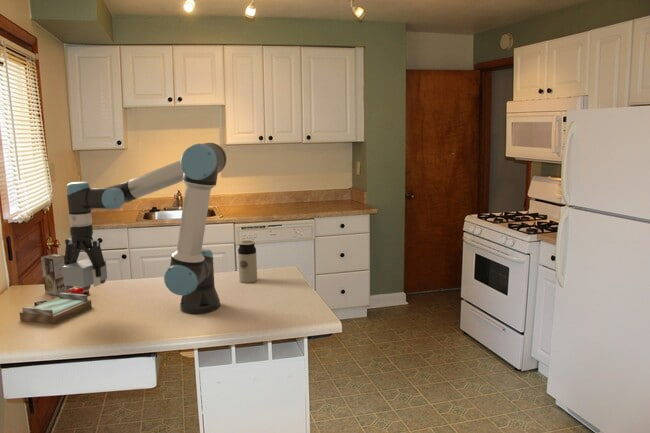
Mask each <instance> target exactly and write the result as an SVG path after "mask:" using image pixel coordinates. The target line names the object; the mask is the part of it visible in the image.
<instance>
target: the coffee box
mask: <svg viewBox="0 0 650 433" xmlns="http://www.w3.org/2000/svg"><path fill="white" fill-rule="evenodd" d="M40 259H41V261H40V262H41V269H42V277H43V284H44V293H45V294H48V295H53V296H59V293H66V292H68V291H69V290H70V289H71V288H67V287H66V285H64V278H63V268H62V267H63V266H66V265H65V264H64V260H65V254H64V255H63V254H57V253H51V254H48V255H44V256H40Z"/></svg>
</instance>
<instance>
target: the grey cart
mask: <svg viewBox="0 0 650 433" xmlns="http://www.w3.org/2000/svg"><path fill="white" fill-rule="evenodd" d="M104 262H105V266H103V267H101V277H100V284H102V285H103V284H105V283H106V280H107V279H108V272H107V260H105V259H104ZM62 268H63V278H64V285H66V287H67V288H70V289H73V288H76V287H82V288H83V289H84V290H89V291H90V288H91V286H92V285H94V283H93V271H92V269H93V268H94V267H93V265H92V263H91V261H90V259H89V258H84V259H81V260H79V261H78V260H77V262H75V263H72V264H69V265H66V266H63V267H62Z"/></svg>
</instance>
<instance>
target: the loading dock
mask: <svg viewBox="0 0 650 433" xmlns="http://www.w3.org/2000/svg"><path fill="white" fill-rule="evenodd" d="M91 308H93V306H92V299H88V294H87V295H81V294H71V293H59V295H58V296H57V297H55V298H53V299H49V300H47V301H44V302H42V303H39V304H36V305H35V306H32V307H31V306H23V307H22V310H21V311H19V312H18V313H19V320H20V321H25V322H33V323H41V324H49V325H56V324H58V323H61V322H63V321H65V320H67V319H70V318H72V317H74V316H76V315H78V314H81V313H82V312H85V311H87V310H90V309H91Z"/></svg>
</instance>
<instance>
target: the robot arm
mask: <svg viewBox="0 0 650 433" xmlns="http://www.w3.org/2000/svg"><path fill="white" fill-rule="evenodd" d="M226 164H227V153H226V151H225V150H224V149H223V148H222V146H220V145H219V144H217V143H214V142H204V143H196V144H192V145H191V146H189V147H187V148H186V149H185V150H184V151H183V153H182V155H181V158H180V160H177V161H174V162H173V163H169V164H167V165H165V166H162V167H160V168H157V169H154V170H151V171H149V172H147V173H144V174H141V175H138V176H137V177H134V178H131V179H129V180H127V181H126V180H125V181H124V182H121V183H119V184H115V185H114V184H113V185H110V186H106V187H90V183H89V182H88V181H74V182H69V183H68V184H67V185H66V198H67V206H68V207H67V208H68V221H69V225H70V227H69V231H70V233H69V234H70V236H71V237H70V238H66V239H65V240H64V244H65V252H64V256H65V260H64V264H65V265H69V264H72V263H75V262H78V259H79V256H80V253H81V251H83V252H85V254H87V256H88V259H90V261H91V263H92V265H93V267H94V268H93V269H92V271H93V283H94V284H93V287H94V288H95V287H99V286H100V285H101V284H100V277H101V267H103V266H105V262H104V260H105V258H104V255H103V252H102V248H101V240H99V239H97V240H95V239H94V238H93V235H94V230H93V224H92V223H93V218H92V217H93V216H92V210H93V209H95V210H115V209H116V210H118V209H121V208H122V207H123V206H124V204H127V203H131V202H133V201H135V200H137V199H139V198H143V197H145V196H147V195H151V194H152V193H155V192H158V191H161V190H163V189H165V188H170V187H171V186H174V185H176V184H180V183H181V182H183V183H184V184H185V189H184V190H185V192H184V197H183V204H182V212H181V217H180V218H181V219H180V224H179V225H180V226H179V231H178V239H177V244H176V245H177V246H176V250H175V251H173V252H172V253H171V255H170V256H171V257H170V264H169V267H167V269H166V270H165V272H164V276H163V281H164V285H165V287H166V288H167V289H168V290H169V291H170V292H171V293H173V294H174V295H177V296H181V300H180V302H179V303H180V304H179V308H180V311H181V312H183V313H186V314H206V313H211V312H214V311H216V310H218V309H219V308H220V306H221V299H220V297H219V295H218V291H217V290H216V287H215V272H214V269H215V268H214V255H213V251H212V250H211V249H206V248H205V249H204V248H203V245H204V244H203V241H204V236H205V230H206V223H207V217H208V211H209V210H208V209H209V205H210V198H211V193H212V192H211V191H212V189H213V188H215V186H217V182H218V174H219V173H221V172H222V171H223V170H224V169H225V167H226Z"/></svg>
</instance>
